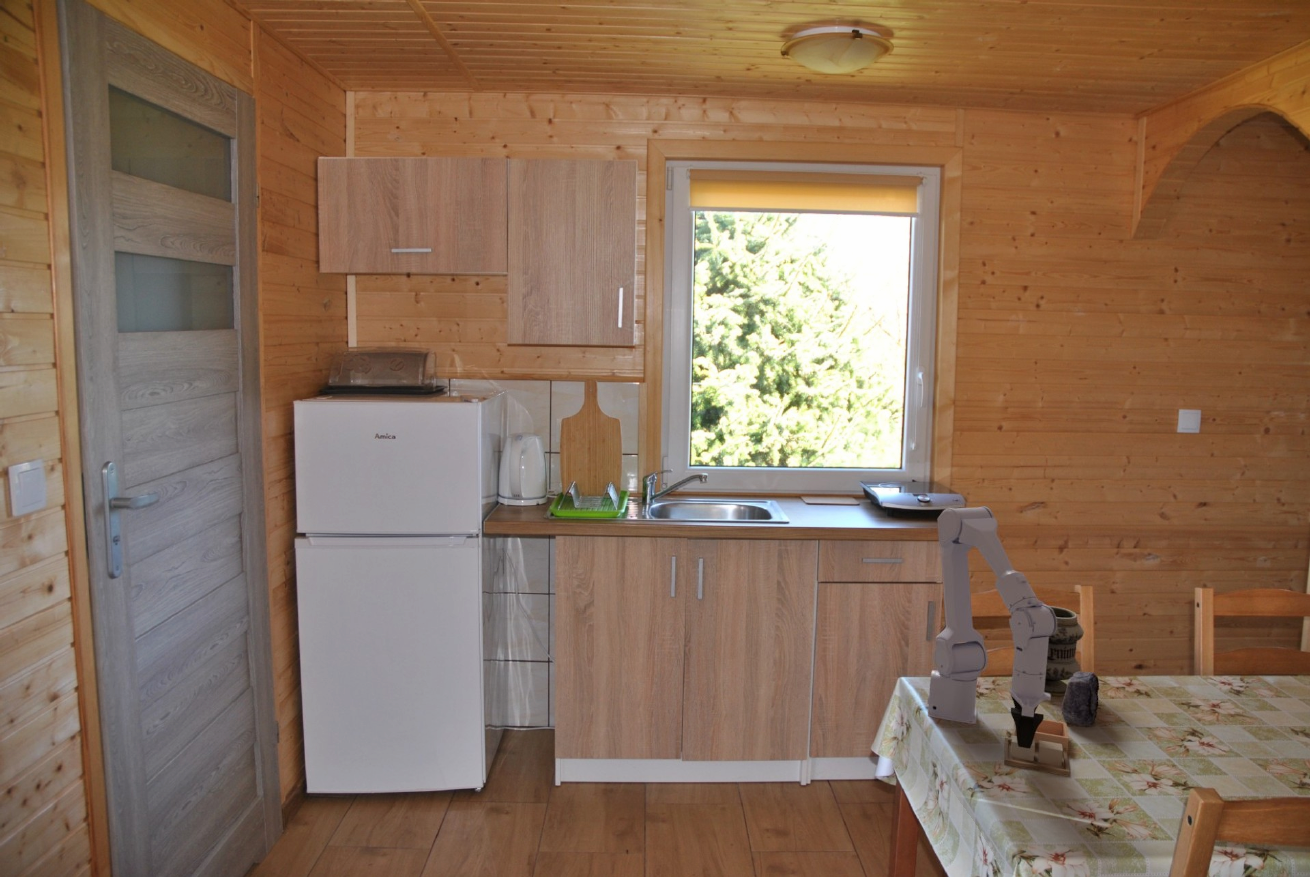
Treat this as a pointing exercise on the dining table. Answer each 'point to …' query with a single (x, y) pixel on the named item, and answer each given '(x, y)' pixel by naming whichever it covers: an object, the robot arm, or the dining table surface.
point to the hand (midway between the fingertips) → (1023, 738)
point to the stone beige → (1050, 753)
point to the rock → (1081, 699)
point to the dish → (1051, 732)
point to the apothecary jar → (1062, 651)
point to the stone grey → (1022, 750)
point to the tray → (1036, 761)
